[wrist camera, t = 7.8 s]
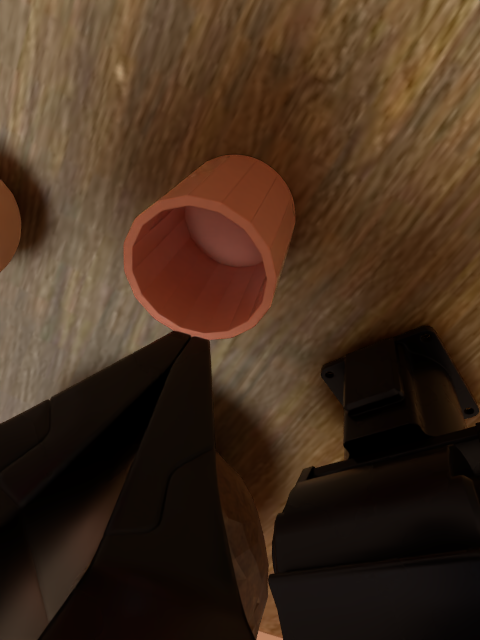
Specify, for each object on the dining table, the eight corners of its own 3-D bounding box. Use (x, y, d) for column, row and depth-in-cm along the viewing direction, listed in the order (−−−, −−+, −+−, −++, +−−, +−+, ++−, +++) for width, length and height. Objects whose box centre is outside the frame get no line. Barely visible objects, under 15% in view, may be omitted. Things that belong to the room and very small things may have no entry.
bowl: (138, 531, 40) (43, 746, 27) (6, 387, 32) (-206, 596, 20) (325, 517, 32) (309, 806, 20) (211, 322, 24) (68, 600, 12)
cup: (318, 233, 20) (306, 302, 15) (227, 285, 23) (189, 359, 17) (250, 127, 18) (208, 161, 13) (159, 198, 21) (93, 250, 15)
